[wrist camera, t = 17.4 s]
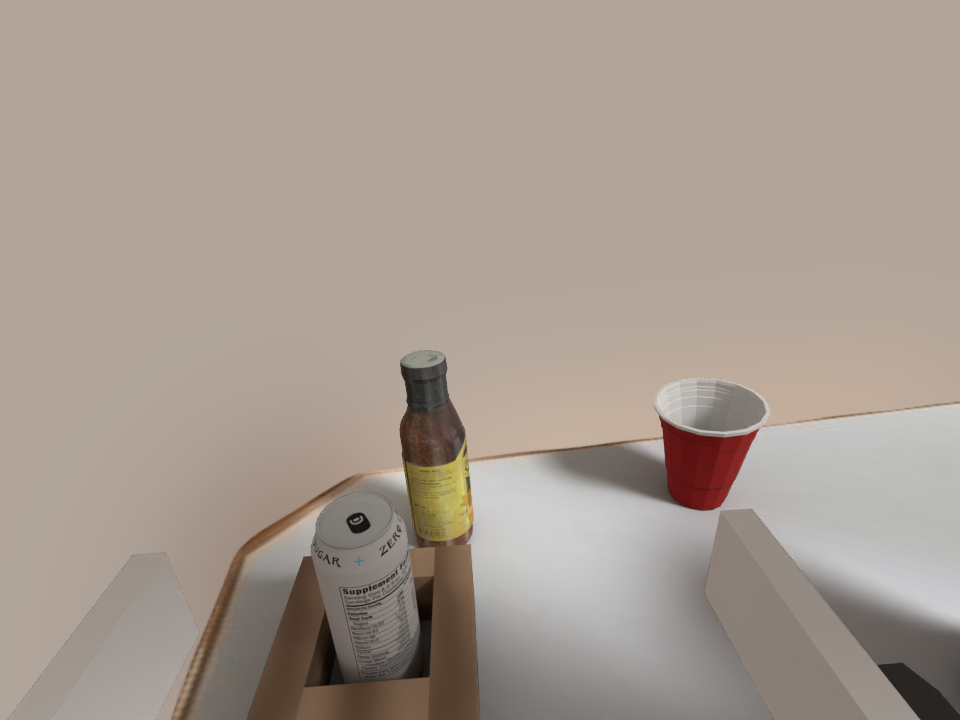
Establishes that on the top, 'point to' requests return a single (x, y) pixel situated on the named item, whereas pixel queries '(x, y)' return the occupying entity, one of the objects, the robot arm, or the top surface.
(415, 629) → the energy drink can
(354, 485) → the top surface
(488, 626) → the top surface
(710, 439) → the plastic cup
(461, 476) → the sauce bottle
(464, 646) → the well block
